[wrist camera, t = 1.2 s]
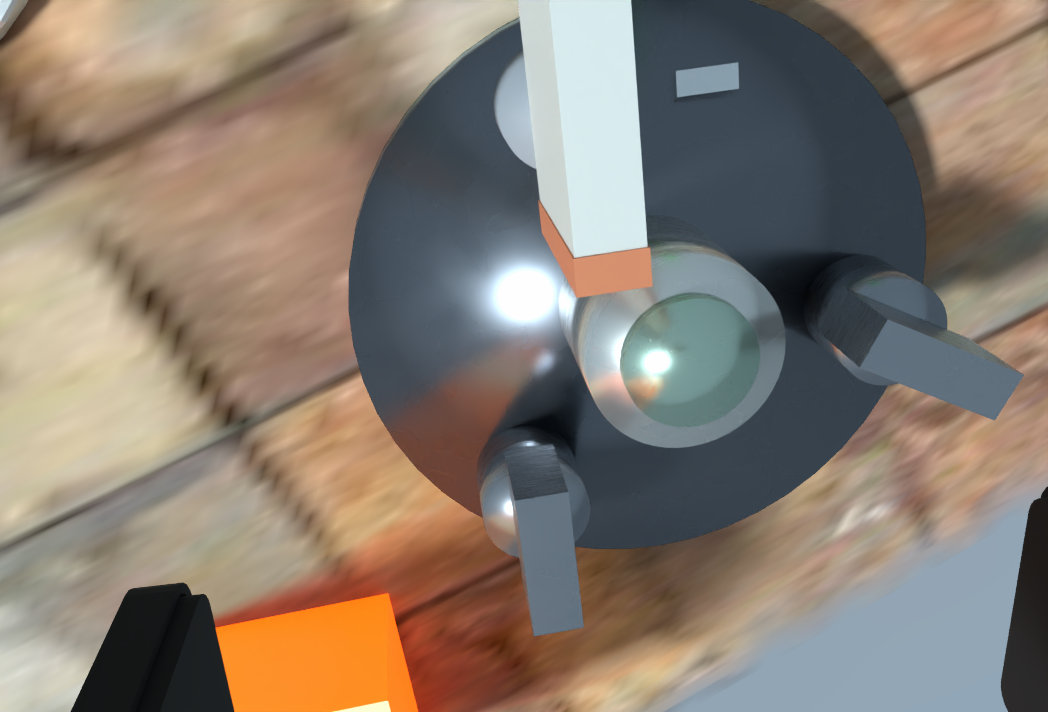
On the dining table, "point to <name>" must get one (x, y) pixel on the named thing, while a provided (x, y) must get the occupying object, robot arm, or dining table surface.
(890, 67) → the dining table surface
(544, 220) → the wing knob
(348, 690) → the orange juice
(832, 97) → the tribrach base
